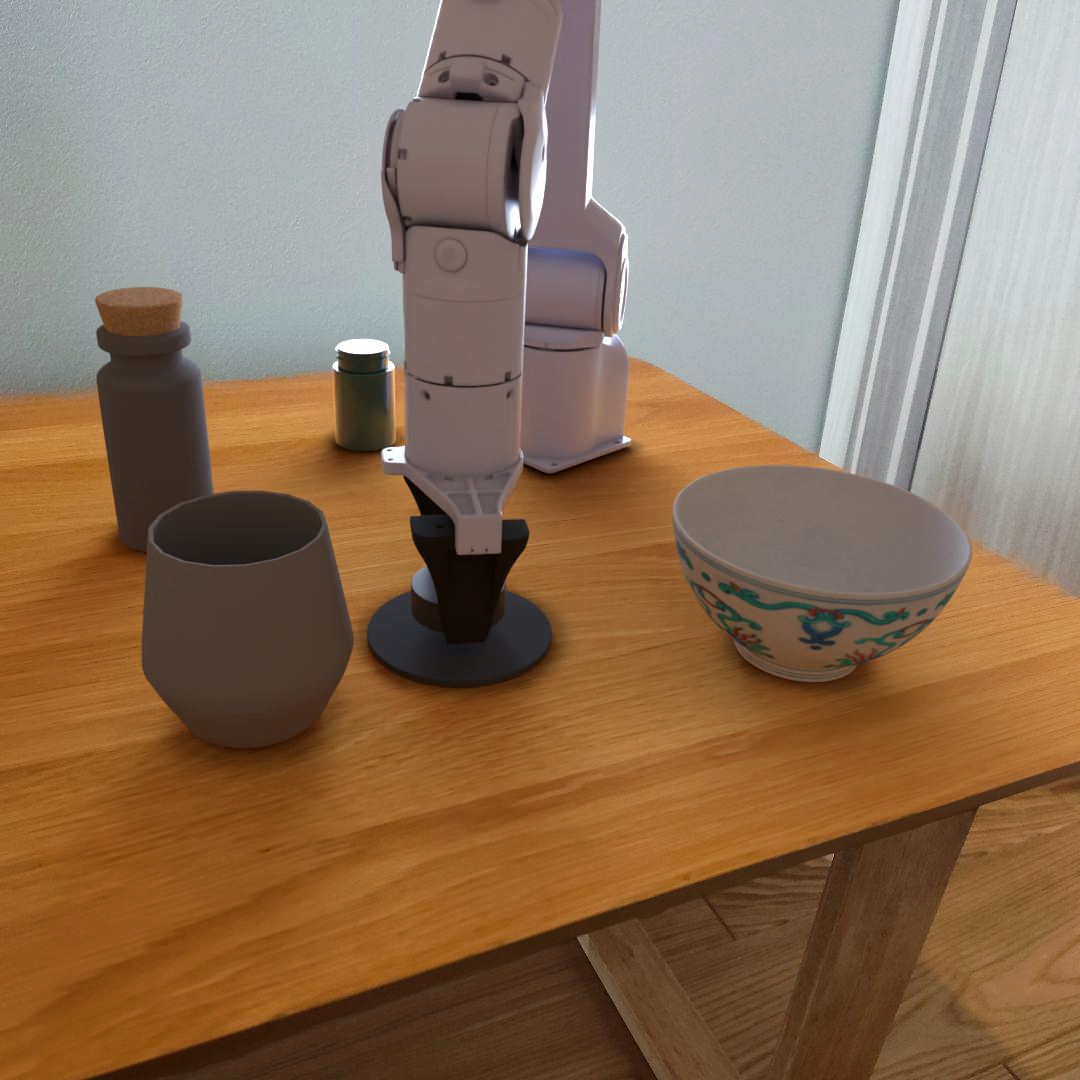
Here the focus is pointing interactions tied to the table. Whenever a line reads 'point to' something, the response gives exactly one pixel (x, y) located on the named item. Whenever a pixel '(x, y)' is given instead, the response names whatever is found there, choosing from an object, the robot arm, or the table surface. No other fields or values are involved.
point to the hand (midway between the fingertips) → (460, 611)
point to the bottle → (150, 408)
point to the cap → (427, 605)
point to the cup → (244, 616)
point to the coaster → (459, 645)
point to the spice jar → (364, 395)
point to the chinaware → (815, 565)
